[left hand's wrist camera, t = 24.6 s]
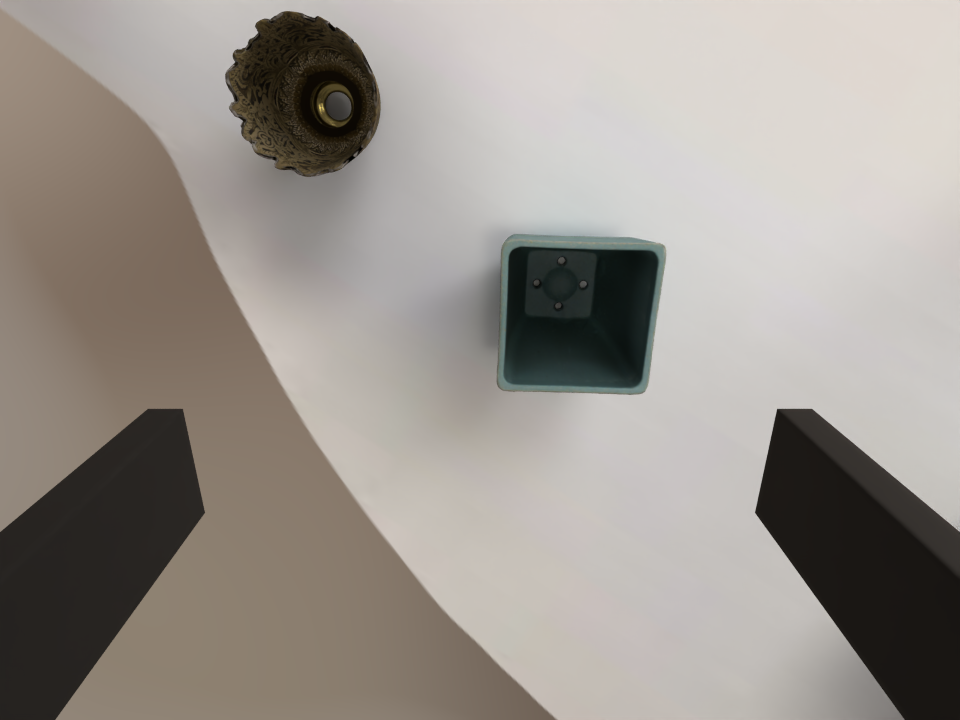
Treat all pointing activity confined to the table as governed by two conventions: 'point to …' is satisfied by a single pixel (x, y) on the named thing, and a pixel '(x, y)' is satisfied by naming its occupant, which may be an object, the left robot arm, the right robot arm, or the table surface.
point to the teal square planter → (578, 313)
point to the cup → (303, 94)
